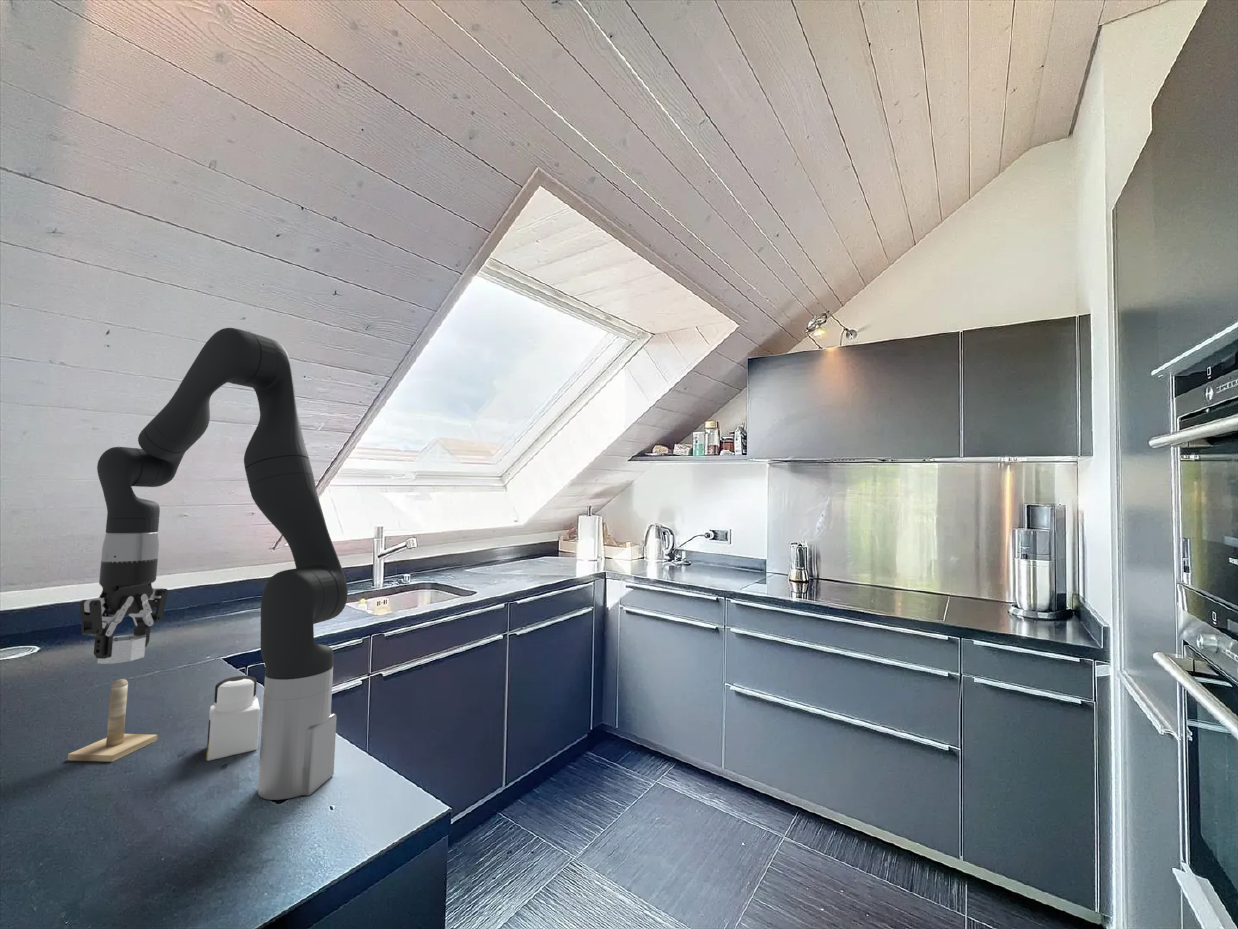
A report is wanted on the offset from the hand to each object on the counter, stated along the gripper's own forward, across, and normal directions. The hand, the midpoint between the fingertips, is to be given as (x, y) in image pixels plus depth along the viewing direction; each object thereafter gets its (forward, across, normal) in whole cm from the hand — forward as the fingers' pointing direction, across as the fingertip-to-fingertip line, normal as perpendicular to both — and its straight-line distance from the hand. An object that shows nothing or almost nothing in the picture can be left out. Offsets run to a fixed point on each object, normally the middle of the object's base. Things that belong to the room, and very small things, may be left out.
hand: (122, 652), depth 93 cm
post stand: (+17, 0, 0) cm, 17 cm away
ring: (+1, 0, 0) cm, 1 cm away
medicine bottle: (+17, +2, -20) cm, 26 cm away
